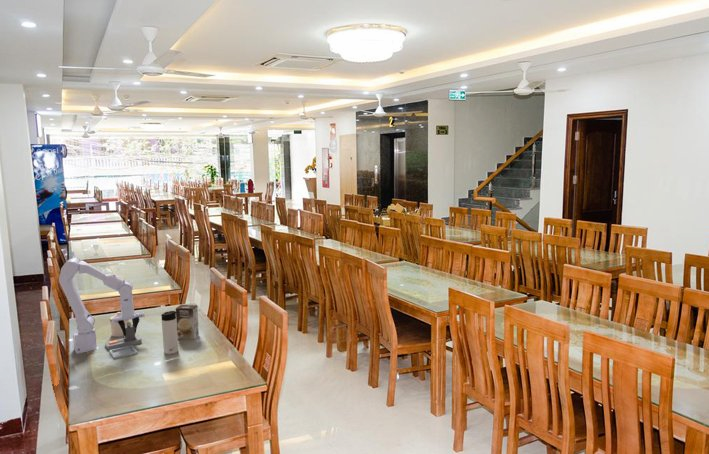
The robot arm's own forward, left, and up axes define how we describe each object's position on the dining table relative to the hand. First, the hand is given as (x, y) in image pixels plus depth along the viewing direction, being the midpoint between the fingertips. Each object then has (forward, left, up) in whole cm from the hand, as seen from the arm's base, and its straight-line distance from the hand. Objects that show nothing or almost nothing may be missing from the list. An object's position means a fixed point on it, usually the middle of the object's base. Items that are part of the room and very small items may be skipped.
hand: (129, 334), depth 245 cm
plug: (0, 0, -2) cm, 2 cm away
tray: (-6, -11, -5) cm, 14 cm away
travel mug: (+12, -24, -5) cm, 28 cm away
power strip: (-3, 0, -5) cm, 6 cm away
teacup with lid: (-1, +20, -5) cm, 20 cm away
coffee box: (+25, -8, -5) cm, 27 cm away
